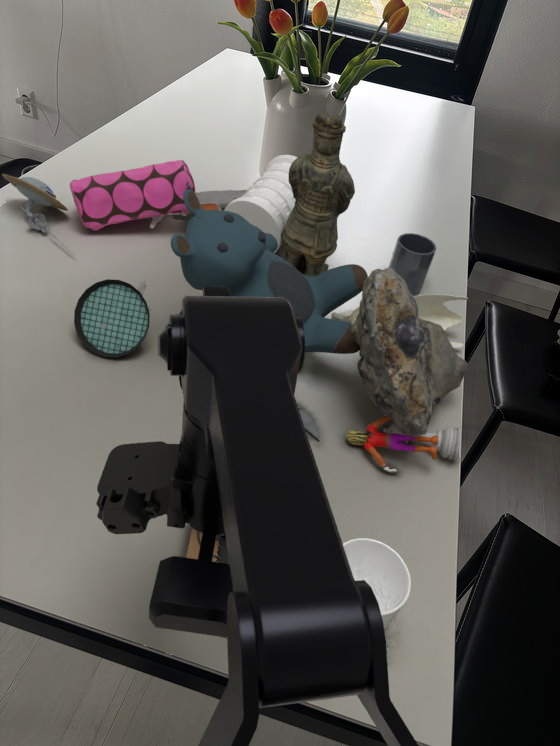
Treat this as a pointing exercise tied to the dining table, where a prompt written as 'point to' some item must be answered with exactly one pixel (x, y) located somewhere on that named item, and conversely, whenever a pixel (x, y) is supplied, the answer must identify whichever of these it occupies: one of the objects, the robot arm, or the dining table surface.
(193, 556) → the square wooden coaster
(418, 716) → the dining table surface
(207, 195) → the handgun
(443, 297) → the clam shell
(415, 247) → the pencil cup
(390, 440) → the toy figure
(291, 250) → the statue
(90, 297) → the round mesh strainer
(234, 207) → the decorative container
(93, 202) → the pencil case
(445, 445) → the chess piece
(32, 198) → the toy
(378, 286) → the rock
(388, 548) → the white cup
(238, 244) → the stuffed animal
